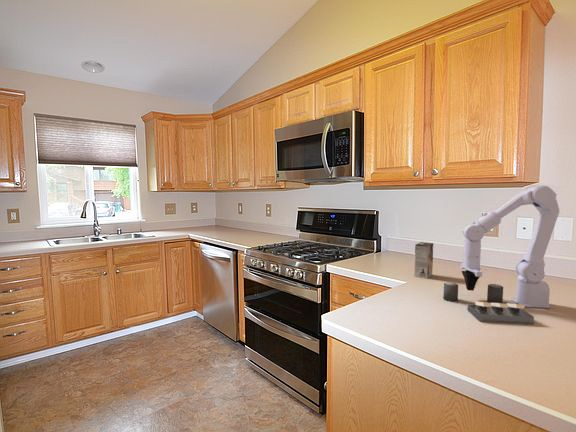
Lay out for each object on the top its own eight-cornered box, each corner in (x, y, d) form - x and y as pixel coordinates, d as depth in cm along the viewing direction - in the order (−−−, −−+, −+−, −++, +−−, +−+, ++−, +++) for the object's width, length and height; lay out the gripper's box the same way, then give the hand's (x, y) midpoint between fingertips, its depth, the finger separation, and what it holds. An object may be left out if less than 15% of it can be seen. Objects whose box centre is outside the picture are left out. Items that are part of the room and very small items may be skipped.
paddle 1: (475, 304, 114) (475, 301, 114) (483, 305, 114) (483, 301, 114) (483, 306, 108) (483, 302, 108) (491, 306, 108) (491, 303, 108)
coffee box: (419, 272, 168) (420, 241, 167) (432, 274, 164) (433, 243, 163) (413, 276, 161) (415, 244, 159) (427, 278, 157) (428, 245, 155)
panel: (516, 312, 114) (516, 303, 114) (533, 324, 105) (534, 314, 104) (467, 310, 117) (467, 301, 116) (479, 321, 107) (480, 311, 106)
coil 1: (454, 297, 130) (455, 282, 129) (459, 302, 125) (460, 285, 124) (441, 297, 131) (442, 281, 130) (445, 301, 126) (446, 285, 125)
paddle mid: (491, 305, 113) (491, 302, 113) (498, 305, 113) (498, 302, 113) (500, 307, 107) (499, 303, 108) (507, 307, 107) (507, 304, 107)
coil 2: (498, 299, 128) (499, 283, 127) (505, 304, 123) (506, 287, 122) (484, 299, 128) (485, 283, 128) (490, 303, 123) (491, 287, 123)
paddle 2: (506, 306, 113) (506, 303, 113) (514, 306, 112) (514, 303, 112) (516, 308, 107) (516, 304, 107) (524, 308, 106) (524, 304, 107)
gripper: (454, 251, 135) (452, 284, 137) (468, 259, 121) (466, 295, 122) (472, 252, 134) (470, 284, 136) (488, 260, 120) (486, 296, 121)
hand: (470, 289), depth 129 cm, fingers closed
